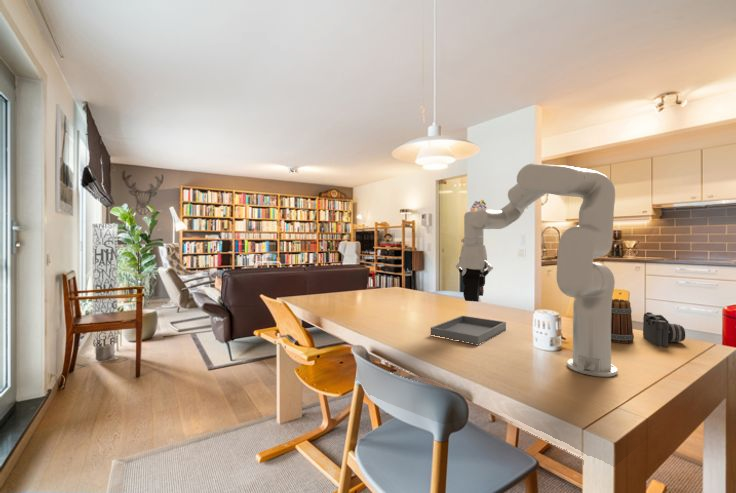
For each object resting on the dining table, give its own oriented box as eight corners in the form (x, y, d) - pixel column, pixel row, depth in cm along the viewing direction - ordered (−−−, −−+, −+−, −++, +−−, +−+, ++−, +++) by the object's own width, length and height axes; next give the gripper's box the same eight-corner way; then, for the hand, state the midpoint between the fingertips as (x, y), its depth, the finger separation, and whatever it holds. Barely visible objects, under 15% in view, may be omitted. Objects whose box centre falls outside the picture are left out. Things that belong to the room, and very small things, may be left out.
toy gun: (482, 315, 143) (483, 289, 149) (477, 295, 130) (479, 267, 136) (469, 314, 145) (471, 288, 152) (463, 294, 132) (466, 267, 138)
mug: (622, 336, 135) (622, 298, 135) (640, 344, 125) (640, 303, 124) (580, 335, 137) (580, 298, 137) (595, 343, 126) (595, 302, 126)
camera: (694, 349, 118) (694, 321, 118) (655, 346, 122) (655, 319, 122) (673, 338, 131) (673, 312, 131) (639, 336, 135) (639, 311, 135)
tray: (478, 345, 125) (478, 336, 125) (430, 336, 138) (430, 327, 138) (506, 330, 146) (505, 322, 146) (462, 323, 159) (462, 315, 159)
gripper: (450, 242, 143) (450, 284, 143) (490, 242, 131) (490, 288, 132) (458, 241, 148) (458, 283, 149) (498, 241, 137) (498, 286, 137)
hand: (473, 285), depth 140 cm, fingers closed on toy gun, 6 cm apart
